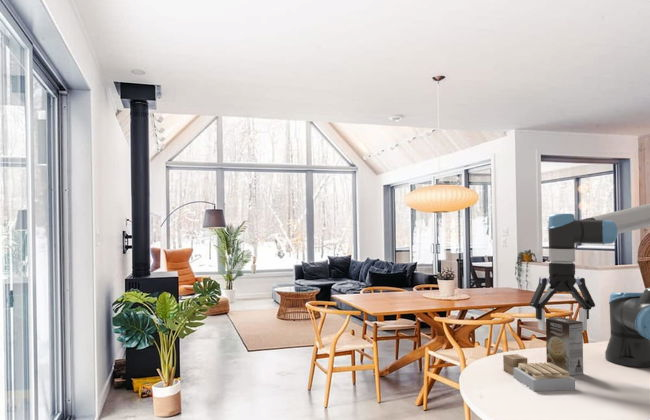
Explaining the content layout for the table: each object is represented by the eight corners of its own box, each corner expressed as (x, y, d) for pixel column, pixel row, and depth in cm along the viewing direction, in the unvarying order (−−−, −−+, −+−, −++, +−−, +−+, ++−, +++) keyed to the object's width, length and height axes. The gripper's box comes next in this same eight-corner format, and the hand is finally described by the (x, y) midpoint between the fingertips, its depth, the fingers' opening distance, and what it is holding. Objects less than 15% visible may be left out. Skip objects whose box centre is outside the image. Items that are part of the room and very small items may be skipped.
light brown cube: (517, 369, 153) (517, 354, 153) (527, 374, 148) (527, 358, 149) (503, 371, 152) (503, 355, 152) (513, 375, 147) (513, 359, 147)
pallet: (550, 367, 145) (550, 362, 145) (569, 377, 135) (569, 372, 135) (518, 368, 144) (518, 363, 144) (535, 378, 134) (534, 373, 134)
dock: (551, 376, 146) (551, 366, 146) (575, 389, 134) (575, 378, 134) (513, 377, 145) (513, 367, 145) (533, 391, 133) (533, 380, 133)
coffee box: (545, 368, 155) (544, 317, 155) (560, 366, 157) (559, 316, 157) (569, 376, 146) (568, 322, 147) (584, 373, 148) (583, 321, 149)
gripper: (592, 261, 157) (592, 326, 157) (518, 261, 156) (518, 327, 155) (607, 263, 150) (608, 332, 149) (529, 263, 148) (530, 332, 147)
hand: (562, 329), depth 152 cm, fingers open, 13 cm apart
